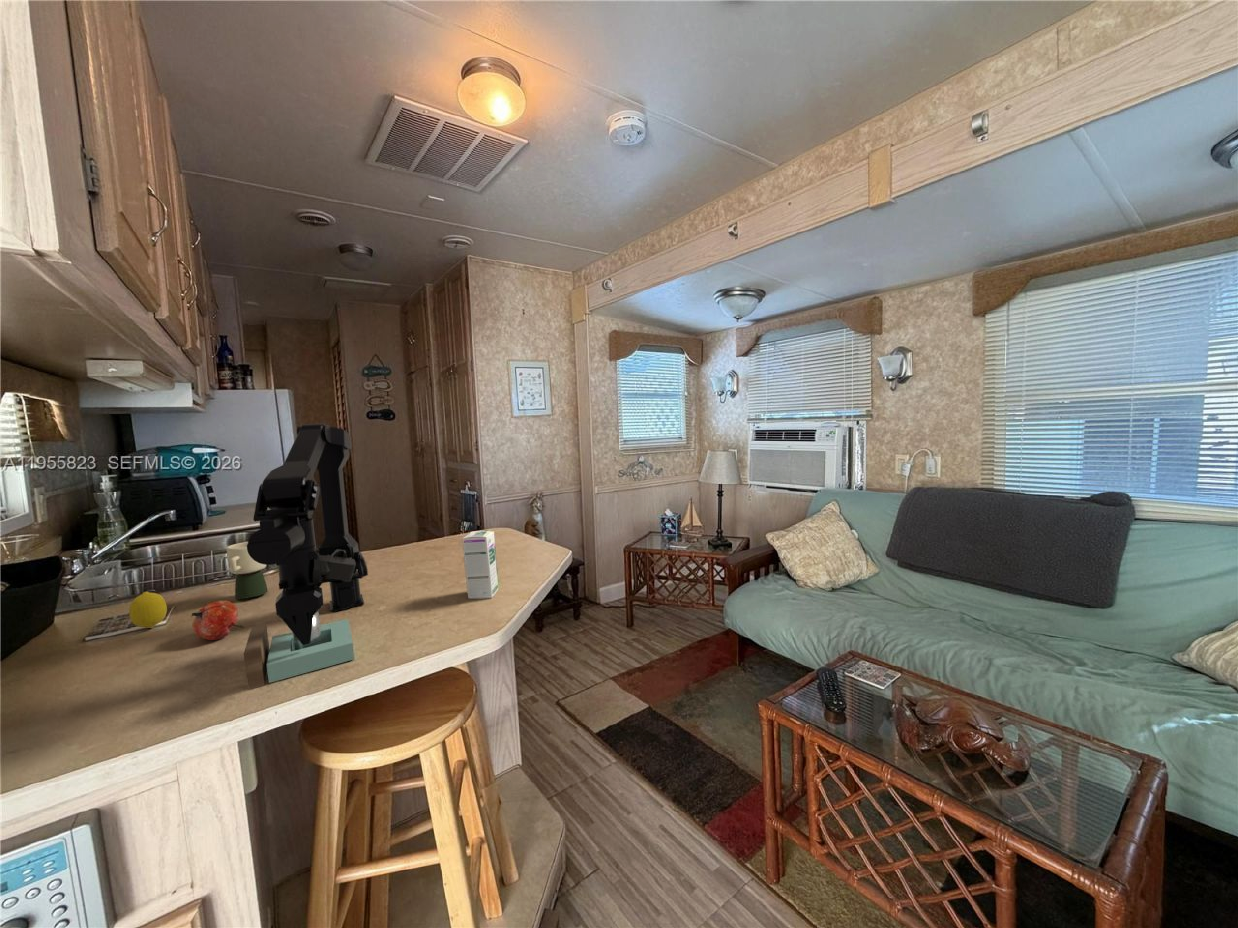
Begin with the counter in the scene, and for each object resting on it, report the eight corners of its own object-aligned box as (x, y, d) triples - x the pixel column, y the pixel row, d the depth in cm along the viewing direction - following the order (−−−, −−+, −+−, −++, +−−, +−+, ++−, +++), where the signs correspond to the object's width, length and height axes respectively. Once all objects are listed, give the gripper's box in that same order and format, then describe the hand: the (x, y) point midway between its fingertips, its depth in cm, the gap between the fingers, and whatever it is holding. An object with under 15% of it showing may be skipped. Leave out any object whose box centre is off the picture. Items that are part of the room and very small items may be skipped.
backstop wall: (256, 658, 84) (252, 625, 83) (270, 654, 85) (266, 622, 84) (248, 689, 74) (243, 653, 73) (264, 685, 75) (259, 649, 74)
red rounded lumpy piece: (226, 637, 98) (171, 625, 91) (250, 604, 100) (198, 589, 93) (238, 650, 94) (181, 638, 86) (262, 615, 96) (209, 601, 89)
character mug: (249, 589, 119) (243, 539, 118) (280, 587, 120) (274, 537, 119) (220, 607, 109) (212, 552, 107) (254, 604, 110) (247, 549, 108)
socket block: (274, 652, 85) (272, 636, 85) (350, 633, 92) (348, 618, 92) (268, 682, 75) (266, 665, 75) (354, 659, 82) (352, 642, 81)
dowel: (296, 656, 84) (291, 613, 83) (323, 649, 86) (318, 607, 85) (296, 666, 81) (290, 621, 80) (323, 658, 83) (318, 615, 82)
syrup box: (492, 598, 107) (487, 536, 105) (466, 599, 107) (461, 537, 106) (499, 589, 113) (495, 529, 111) (474, 589, 113) (470, 530, 111)
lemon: (175, 624, 100) (170, 588, 99) (142, 636, 95) (136, 598, 94) (159, 621, 102) (153, 585, 101) (125, 633, 97) (119, 595, 96)
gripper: (353, 550, 78) (363, 640, 79) (346, 529, 93) (355, 604, 95) (269, 564, 72) (282, 661, 73) (277, 539, 87) (287, 619, 89)
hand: (306, 633), depth 83 cm, fingers open, 9 cm apart
